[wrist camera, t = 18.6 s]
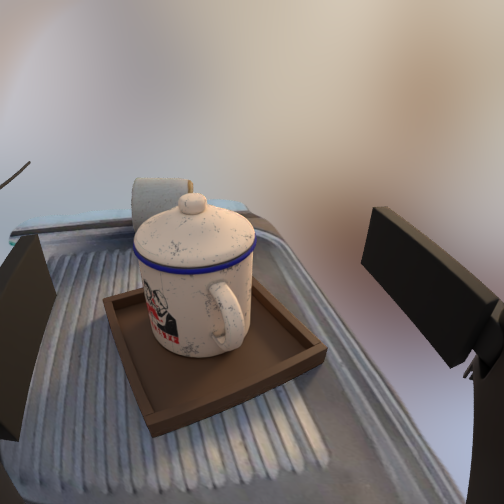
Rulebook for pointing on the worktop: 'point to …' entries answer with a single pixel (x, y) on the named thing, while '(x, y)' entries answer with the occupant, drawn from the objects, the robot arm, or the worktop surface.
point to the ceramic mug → (156, 197)
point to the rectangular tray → (208, 361)
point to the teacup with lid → (197, 276)
